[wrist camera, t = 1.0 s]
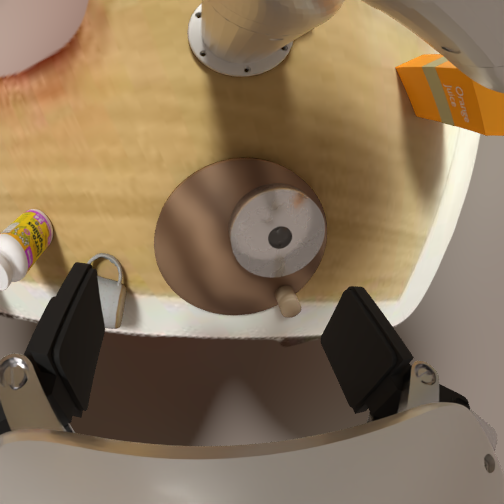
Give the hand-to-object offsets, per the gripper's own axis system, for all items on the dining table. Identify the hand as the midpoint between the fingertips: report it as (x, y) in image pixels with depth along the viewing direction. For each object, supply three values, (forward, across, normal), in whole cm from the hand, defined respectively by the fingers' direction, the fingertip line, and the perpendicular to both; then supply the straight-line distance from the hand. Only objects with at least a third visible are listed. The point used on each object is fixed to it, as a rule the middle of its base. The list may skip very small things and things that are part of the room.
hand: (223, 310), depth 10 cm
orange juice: (+27, -29, -20) cm, 45 cm away
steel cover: (+24, -10, +7) cm, 27 cm away
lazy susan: (+27, -7, +11) cm, 30 cm away
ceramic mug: (+27, +14, +20) cm, 37 cm away
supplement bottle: (+27, +25, +12) cm, 39 cm away
